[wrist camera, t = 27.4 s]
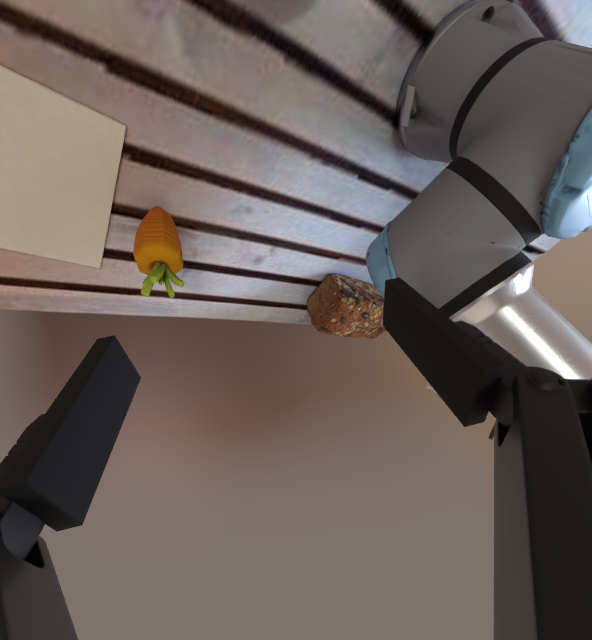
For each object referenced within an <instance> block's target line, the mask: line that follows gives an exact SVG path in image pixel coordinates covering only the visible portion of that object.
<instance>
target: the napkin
mask: <svg viewBox="0 0 592 640" xmlns="http://www.w3.org/2000/svg"><path fill="white" fill-rule="evenodd" d="M125 131H126V125H124V124H122V123H120V122H118V121H116V120H114V119H112V118H110V117H107V116H105V115H103V114H101V113H99V112H97V111H95V110H93V109H91V108H89V107H87V106H85V105H83V104H80V103H78V102H76V101H74V100H72V99H70V98H68V97H66V96H64V95H62V94H60V93H58V92H56V91H53V90H51V89H49V88H47V87H45V86H43V85H41V84H39V83H37V82H35V81H33V80H31V79H29V78H26V77H24V76H22V75H20V74H18V73H16V72H14V71H12V70H10V69H8V68H6V67H4V66H1V65H0V248H3V249H8V250H12V251H17V252H22V253H27V254H32V255H37V256H42V257H46V258H51V259H56V260H61V261H66V262H71V263H76V264H80V265H85V266H90V267H95V268H100V267H101V262H102V256H103V251H104V246H105V240H106V235H107V229H108V224H109V218H110V213H111V207H112V202H113V197H114V191H115V186H116V180H117V175H118V169H119V164H120V158H121V153H122V147H123V142H124V137H125Z"/></svg>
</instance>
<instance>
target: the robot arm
mask: <svg viewBox="0 0 592 640" xmlns="http://www.w3.org/2000/svg"><path fill="white" fill-rule="evenodd" d="M397 129H398V133H399V136H400V139H401V141H402V143H403V144H404V146H405V147H406V148H407V149H409V150H410V151H411V152H412V153H413V154H415V155H416V156H417V157H419V158H422V159H426V160H432V161H439V162H445V163H450V164H449V165H448V166H447V167H446V168H445V169H444V170H443V171H442V172H441V173H440V174H439V175H438V176H437V177H436V178H435V179H434V180H433V181H432V182H431V183H430V184H429V185H428V186H427V187H426V188H425V189H424V190H423V191H422V192H421V193H420V194H419V195H418V196H417V197H416V198H415V199H414V200H413V201H412V202H411V203H410V204H409V205H408V206H407V207H406V208H405V209H404V210H403V211H402V212H401V213H400V214H399V215H398V216H397V217H396V218H394V219H393V220H392V221H390V222H389V223H388V224H387V225H386V226H385V229H384V230H383V231H382V232H381V233H380V234H379V236H378V237H377V238H376V239H375V240H374V241H373V242H372V243H371V244H370V246H369V247H368V249H367V253H366V262H367V268H368V271H369V274H370V276H371V279H372V281H373V283H374V284H375V286H376V288H377V290H378V291H379V293H380V294H381V296H382V297H383V299H384V308H383V326H384V327H385V329H386V330H387V331H388V332H389V333H390V335H391V336H392V337H393V338H394V340H395V341H396V342H397V344H398V345H399V346H400V347H401V349H402V350H403V351H404V352H405V354H406V355H407V356H408V357H409V358H410V360H411V361H412V362H413V363H414V365H415V366H416V367H417V368H418V370H419V371H420V372H421V373H422V374H423V376H424V377H425V378H426V380H427V381H428V382H429V383H430V385H431V386H432V387H433V388H434V390H435V391H436V392H437V393H438V395H439V396H440V397H441V398H442V400H443V401H444V402H445V403H446V405H447V406H448V407H449V408H450V409H451V411H452V412H453V413H454V415H455V416H456V417H457V418H458V419H459V421H460V422H461V423H462V424H463V426H464V427H466V426H470V425H474V424H478V423H482V422H484V421H485V419H486V416H487V414H488V411H490V413H491V414H492V415H493V416H494V417H495V418H496V419H497V420H496V422H495V424H494V426H493V428H492V430H491V433H490V435H489V439H493V437H494V640H592V344H591V343H590V342H589V341H588V340H587V339H586V338H585V337H584V336H583V335H581V333H580V332H578V330H576V329H575V328H574V327H573V326H572V325H571V324H570V323H569V322H568V321H567V320H566V319H565V318H564V317H563V316H562V315H561V314H560V313H559V312H558V311H557V310H555V308H554V307H553V306H552V305H551V304H549V303H548V302H547V301H546V300H545V299H544V298H543V297H542V296H541V295H540V294H539V293H538V292H537V291H536V290H535V289H534V288H533V287H532V275H533V269H534V263H533V262H532V261H531V260H530V259H529V258H528V257H527V256H526V255H525V254H524V253H523V252H522V251H521V249H522V248H524V247H525V246H526V245H528V244H529V243H531V242H532V241H533V240H535V239H536V238H538V237H539V236H540V235H542V234H543V233H545V234H546V235H547V236H548V237H555V238H559V239H566V238H571V237H574V236H577V235H578V234H579V233H580V232H585V231H588V230H590V229H591V228H592V48H588V47H584V46H579V45H575V44H571V43H566V42H562V41H557V40H553V39H549V38H546V37H544V36H543V35H542V34H541V32H540V31H539V30H538V29H537V27H536V26H535V25H534V24H533V22H532V21H531V20H530V18H529V17H528V16H527V15H526V13H525V12H524V11H523V9H522V8H521V7H520V6H519V5H518V4H517V3H516V2H514V0H471V1H468V2H466V3H465V4H463V5H461V6H460V7H458V8H457V9H455V10H454V11H453V12H451V13H450V14H449V15H448V16H447V17H446V18H444V19H443V20H442V21H441V22H440V23H439V24H438V26H437V27H436V28H435V29H434V30H433V31H432V32H431V34H430V35H429V36H428V37H427V39H426V40H425V42H424V43H423V44H422V46H421V47H420V49H419V51H418V52H417V54H416V56H415V57H414V59H413V61H412V63H411V65H410V67H409V69H408V71H407V74H406V76H405V79H404V82H403V84H402V88H401V91H400V95H399V99H398V105H397ZM140 378H141V377H140V375H139V374H138V372H137V371H136V369H135V367H134V366H133V364H132V362H131V361H130V359H129V358H128V356H127V354H126V353H125V351H124V350H123V348H122V347H121V345H120V343H119V342H118V340H117V339H116V337H115V336H110V337H105V338H100V339H97V340H96V342H95V343H94V345H93V346H92V348H91V349H90V350H89V352H88V353H87V355H86V356H85V358H84V359H83V360H82V362H81V364H80V365H79V367H78V368H77V369H76V371H75V372H74V373H73V375H72V376H71V378H70V379H69V381H68V382H67V383H66V385H65V386H64V388H63V389H62V391H61V392H60V393H59V395H58V396H57V398H56V399H55V401H54V402H53V403H52V405H51V406H50V408H49V409H48V411H47V412H46V414H42V415H41V416H39V417H38V418H37V419H36V420H35V421H34V422H32V423H31V424H30V425H29V426H28V427H27V428H26V430H25V431H24V432H23V433H22V435H21V436H20V438H19V439H18V440H17V444H15V445H14V446H13V447H12V449H11V450H10V451H9V453H8V456H6V457H5V458H4V459H3V461H2V462H1V464H0V640H78V638H77V635H76V632H75V629H74V626H73V623H72V620H71V617H70V614H69V611H68V608H67V605H66V602H65V599H64V596H63V593H62V590H61V587H60V584H59V581H58V578H57V575H56V572H55V569H54V566H53V563H52V560H51V557H50V554H49V551H48V548H47V545H46V542H45V541H44V539H43V538H41V537H40V536H39V535H40V533H41V531H42V529H43V526H44V525H45V524H46V525H48V526H49V527H51V528H52V529H54V530H56V531H61V530H64V529H68V528H72V527H76V526H80V525H82V524H83V522H84V519H85V517H86V514H87V512H88V509H89V506H90V504H91V502H92V499H93V497H94V494H95V492H96V489H97V487H98V484H99V482H100V479H101V476H102V474H103V471H104V469H105V466H106V464H107V461H108V459H109V456H110V454H111V451H112V449H113V446H114V444H115V441H116V439H117V436H118V434H119V431H120V429H121V426H122V424H123V421H124V419H125V416H126V414H127V411H128V409H129V406H130V404H131V401H132V399H133V396H134V394H135V391H136V389H137V386H138V384H139V381H140Z"/></svg>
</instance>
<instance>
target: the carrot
mask: <svg viewBox="0 0 592 640" xmlns="http://www.w3.org/2000/svg"><path fill="white" fill-rule="evenodd" d="M133 254H134V258H135V260H136V263H137V265H138V268H139V270H140V272H142V273H144V274H147V275H148V276H147V278H146V279H145V280H144V282H143V284H144V285H143V288H142V291H141V294H143V295H144V296H147V297H148V296H149V294H150V292H151V290H152V287H153V285H154V283H157V282H158V281H159V284H161V285H162V284H164V282H165V286H166V289H167V292H168V295H169V296H170V298H173V297H174V296H175V294H174V291H173V289H172V287H171V284H170V281H169V278H170V280H171V281H172V282H173V283H174V284H176V285H178V286H180V287H183V285H184V282H183V281H182V280H180V279H179V278H178V277H177V276H176V275H175V274H176V273H177V272H178V271H179V270H180V269H181V268H182V267H183V258H182V251H181V245H180V240H179V236H178V232H177V228H176V226H175V223H174V221H173V219H172V217H171V216H170V215H169V214H168V213H167V212H166V211H164V210H163V209H162V208H160V207H155V208H152V209H151V210H150V211H149V212H148V213H147V214H146V216H145V217H144V218H143V219H142V221H141V223H140V225H139V228H138V230H137V232H136V238H135V244H134V253H133ZM168 277H169V278H168Z"/></svg>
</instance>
